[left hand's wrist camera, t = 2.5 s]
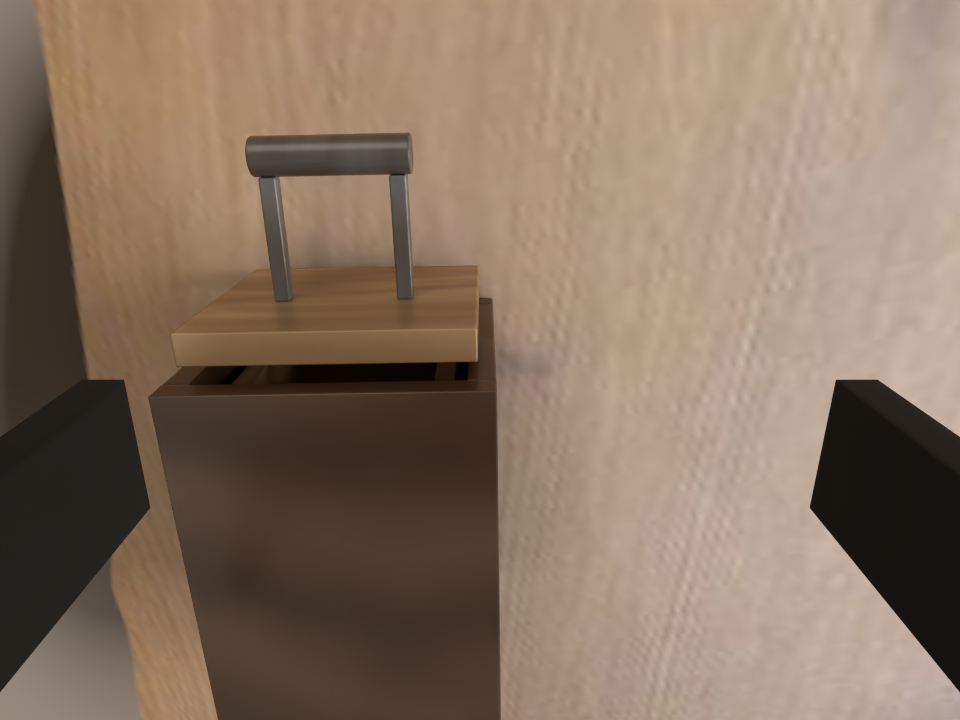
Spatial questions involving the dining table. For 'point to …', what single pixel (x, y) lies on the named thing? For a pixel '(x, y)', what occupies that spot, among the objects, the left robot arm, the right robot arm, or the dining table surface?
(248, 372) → the drawer
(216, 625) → the cabinet
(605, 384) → the dining table surface
